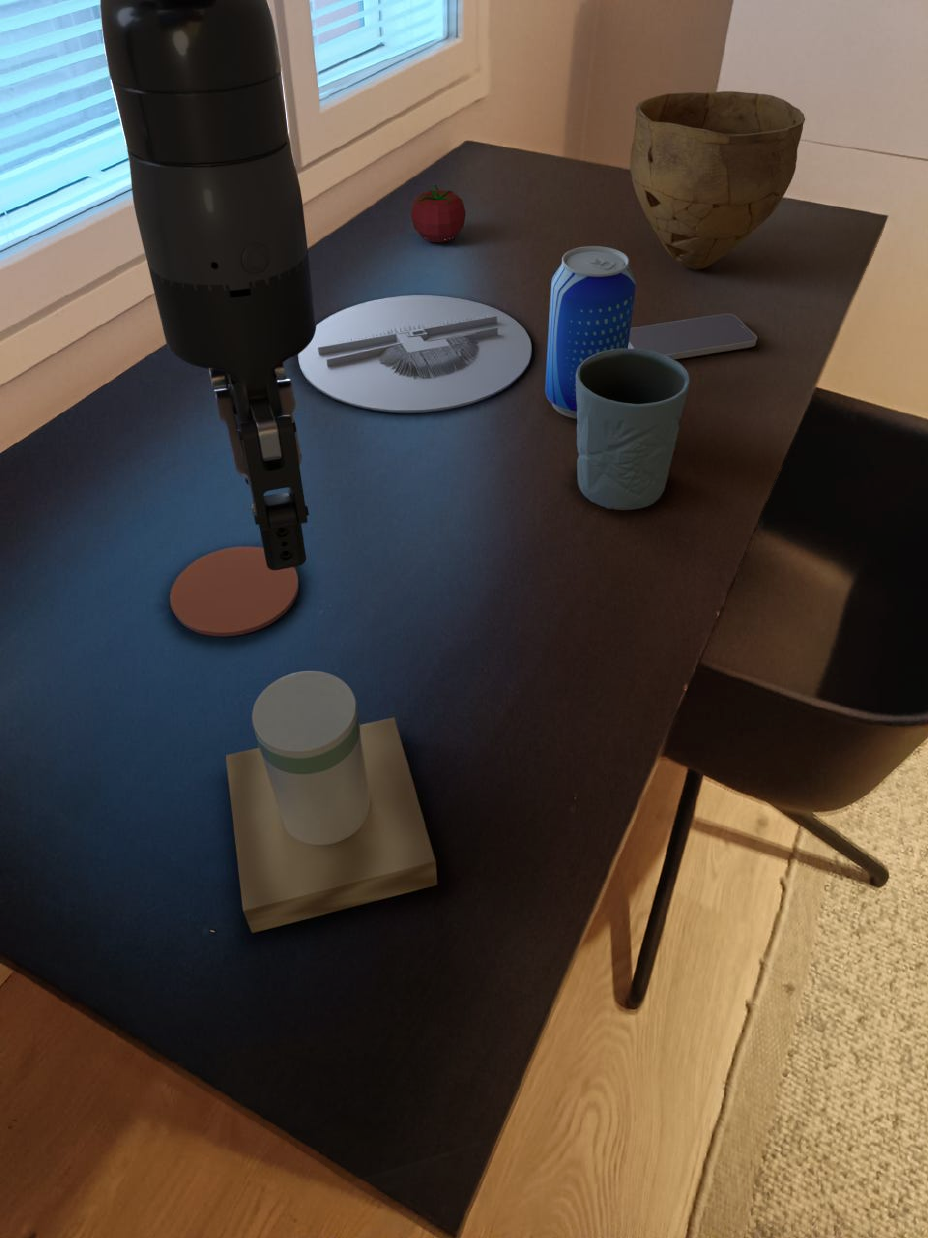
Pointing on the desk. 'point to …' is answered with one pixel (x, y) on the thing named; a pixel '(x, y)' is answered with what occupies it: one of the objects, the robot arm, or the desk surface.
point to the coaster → (232, 592)
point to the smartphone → (693, 336)
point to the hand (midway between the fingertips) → (274, 520)
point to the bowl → (712, 167)
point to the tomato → (438, 215)
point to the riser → (336, 873)
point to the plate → (415, 354)
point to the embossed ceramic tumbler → (627, 425)
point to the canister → (313, 756)
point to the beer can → (586, 317)
